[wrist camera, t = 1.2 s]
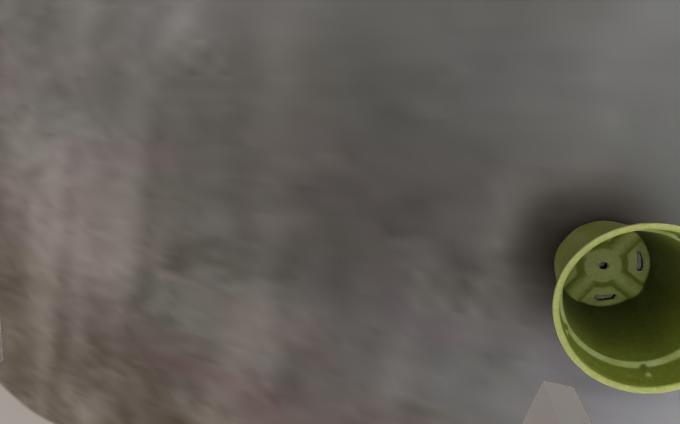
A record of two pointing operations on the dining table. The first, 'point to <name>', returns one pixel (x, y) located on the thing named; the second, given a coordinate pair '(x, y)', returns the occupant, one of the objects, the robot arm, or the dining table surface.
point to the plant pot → (621, 304)
